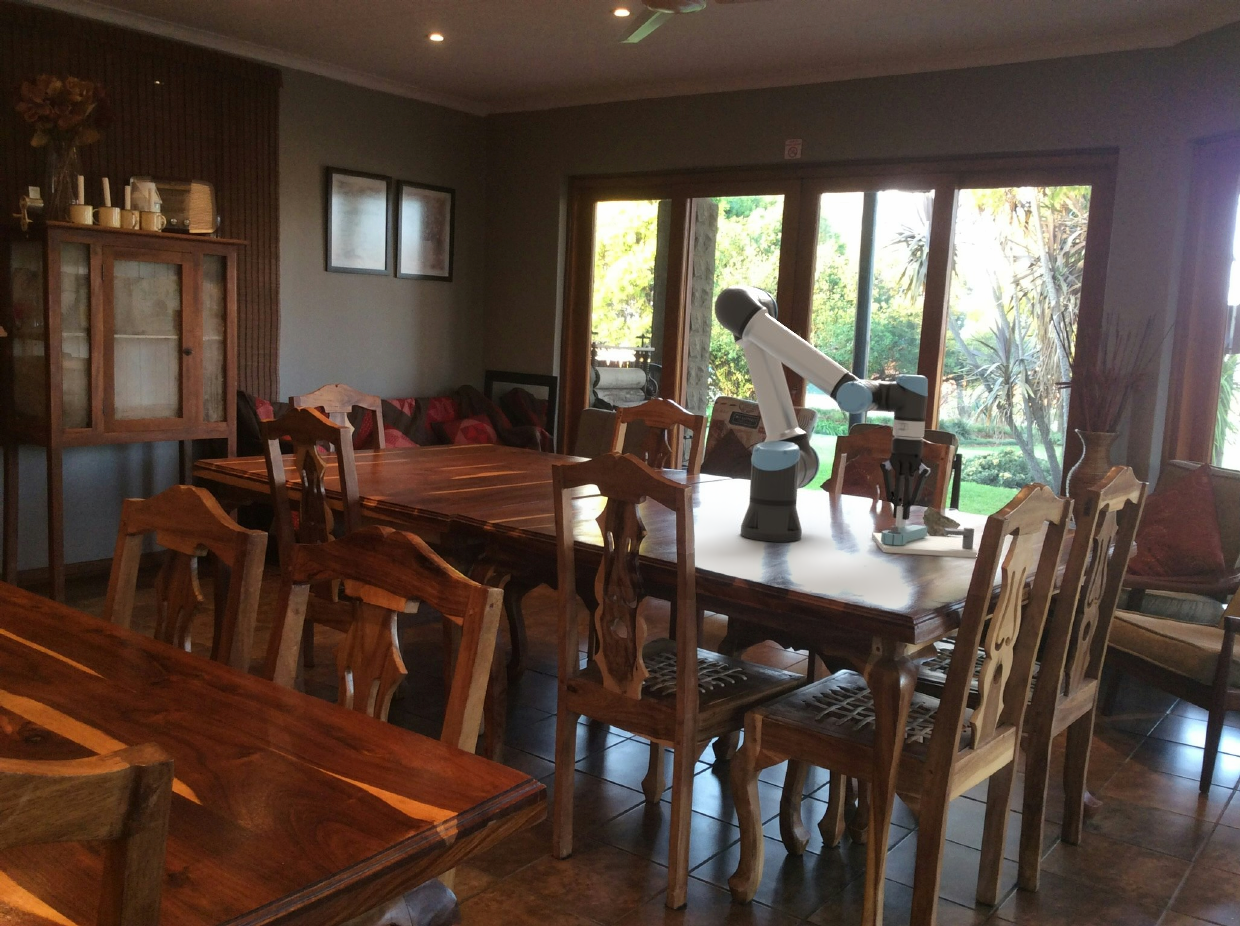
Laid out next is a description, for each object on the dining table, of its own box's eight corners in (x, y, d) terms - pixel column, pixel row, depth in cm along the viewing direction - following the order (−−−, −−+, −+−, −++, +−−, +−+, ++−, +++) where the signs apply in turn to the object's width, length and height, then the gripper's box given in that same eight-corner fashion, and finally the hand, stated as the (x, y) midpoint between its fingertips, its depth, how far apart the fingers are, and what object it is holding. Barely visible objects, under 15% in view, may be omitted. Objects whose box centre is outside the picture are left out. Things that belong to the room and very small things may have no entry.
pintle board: (883, 552, 254) (885, 527, 253) (871, 537, 273) (873, 514, 272) (978, 557, 252) (980, 532, 252) (960, 542, 271) (961, 519, 270)
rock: (941, 537, 270) (922, 505, 275) (926, 550, 274) (908, 518, 279) (970, 534, 277) (951, 502, 281) (955, 547, 281) (936, 515, 286)
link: (899, 546, 255) (899, 535, 254) (877, 542, 258) (878, 532, 258) (930, 537, 268) (931, 527, 268) (909, 533, 272) (910, 524, 272)
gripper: (876, 435, 265) (869, 529, 268) (926, 441, 256) (917, 537, 259) (890, 434, 270) (882, 526, 273) (939, 439, 262) (930, 534, 265)
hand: (899, 531), depth 266 cm, fingers closed
